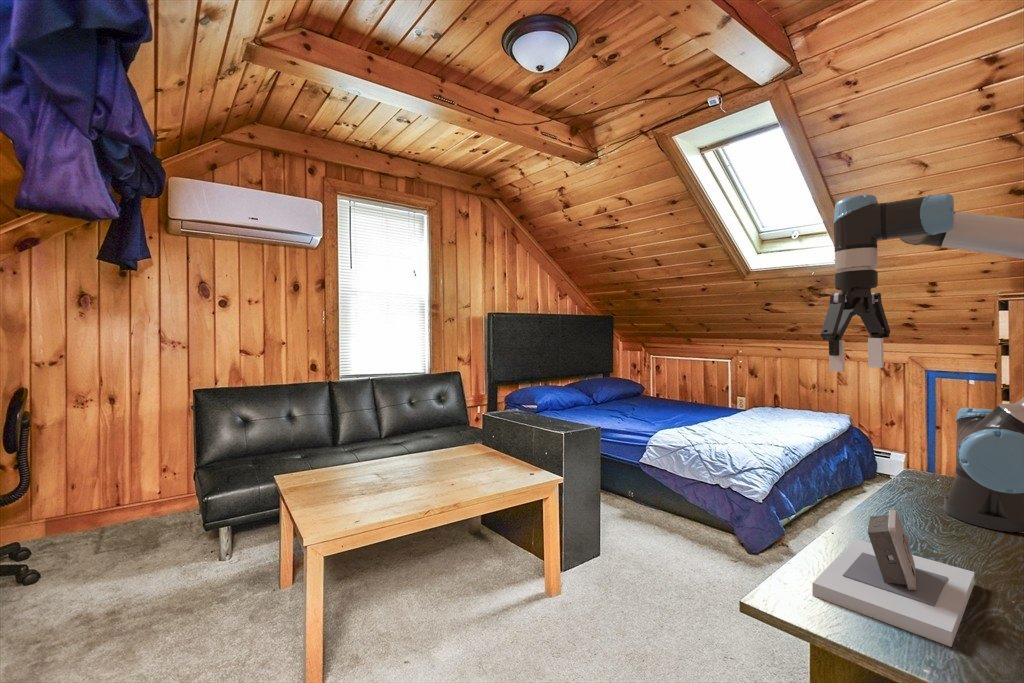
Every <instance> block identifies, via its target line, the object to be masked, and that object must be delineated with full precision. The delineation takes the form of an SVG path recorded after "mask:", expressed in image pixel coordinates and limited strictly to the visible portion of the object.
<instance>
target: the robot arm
mask: <svg viewBox="0 0 1024 683" xmlns="http://www.w3.org/2000/svg"><path fill="white" fill-rule="evenodd" d="M877 198H878V197H877V196H876V195H874V194H863V195H853V196H852V195H851V196H849V197H844V198H842V199H840V200H839V201H837V202H836V203H835V204H834V216H833V217H834V218H833V236H834V237H833V238H834V240H833V241H834V242H833V243H834V245H833V246H834V270H835V271H838V272H836V273H835V274H834V289H835V290H837V291H840V292H835V293H834V292H833V293H831V294H830V296H829V306H828V309H827V312H826V316H825V318H824V321H823V324H822V329H821V332H820V338H822V340H824V341H828V357H829V358H828V360H829V361H828V362H829V364H828V365H829V366H828V367H829V368H828V369H829V370H828V371H829V372H836V373H837V372H839V373H845V371H846V369H845V368H846V364H845V362H846V361H845V357H846V355H845V354H846V353H845V351H846V350H845V340H842V338H843V336H844V334H845V332H846V330H847V328H848V326H849V324H850V323H851V320H852V319H853V317H854V316H856V315H857V316H858V317H860V319H861V321H862V323H863V325H864V327H865V328H866V330H867V332H868V334H869V336H870V337H868V338H867V366H868V368H876V369H877V368H879V369H880V368H881V369H884V367H885V366H884V365H885V364H884V363H885V362H884V339H886V338H887V339H888V338H889V337H890V334H891V329H890V326H889V322H888V319H887V316H886V312H885V309H884V307H883V303H882V294H881V292H873V293H872V289H876V288H877V287H878V286H879V283H878V281H879V278H878V277H879V276H878V275H879V274H878V270H877V269H876V268H878V266H879V265H878V262H879V261H878V241H881V240H884V241H885V240H893V239H899V240H900V241H901V242H903V243H905V244H908V245H913V246H921V245H923V246H929V247H930V246H932V247H936V248H937V247H939V248H947V249H951V250H952V249H954V250H960V251H966V252H967V251H968V252H974V253H981V254H988V255H993V256H994V255H995V256H1001V257H1007V258H1015V259H1021V260H1024V218H1018V217H1008V216H1001V215H991V214H980V213H972V212H971V213H970V212H962V211H955V199H954V195H952V194H950V193H942V194H929V195H926V196H920V197H914V198H913V197H912V198H908V199H903V200H902V199H901V200H896V201H888V202H879V201H878V199H877ZM955 423H956V441H955V442H956V446H955V447H956V449H955V475H954V476H955V477H954V478H953V481H952V483H951V486H950V488H949V491H948V495H946V496H945V497H944V500H943V504H944V505H943V510H944V512H945V513H946V514H948V515H949V516H951V517H952V518H954V519H956V520H960V521H962V522H963V523H966V524H967V523H968V524H970V525H975V526H977V527H981V528H986V529H990V530H995V531H1000V532H1005V531H1006V532H1007V533H1013V532H1024V396H1023V397H1022V398H1021V399H1019V400H1018V401H1017V402H1013V403H999V404H998V405H997V406H996V407H994V409H990V408H977V407H961V408H959V409H958V410H957V416H956V418H955Z"/></svg>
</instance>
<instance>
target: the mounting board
mask: <svg viewBox="0 0 1024 683" xmlns="http://www.w3.org/2000/svg"><path fill="white" fill-rule="evenodd" d="M912 557H913V560H914V564H915V573H916V590H909V589H908V586H907V585H905V584H895V583H884V580H883V577H882V574H881V571H880V568H879V565H878V562H877V559H876V556H875V553H874V550H873V547H872V544H871V542H868V541H864V540H860V539H857V538H854V539H853V540H852V541H851V542H850V543H849V544H848V545H847V547H845V548H844V549H843V550H842V551H841V552H840V553H839V555H837V557H836V558H834V559H833V561H832V562H831V563H830V564H829V565H828V566H827V567H826V568H825V569H824V570H823V571H822V572H821V573H820V574H819V575H818V577H816V579H815V580H814V581H812V588H811V590H812V593H811V594H812V596H813V595H814V596H813V597H815V596H816V598H818V597H819V598H818V599H820V600H823V601H826V602H829V603H832V604H835V605H837V606H840V607H843V608H845V609H848V610H850V611H854V612H856V613H859V614H861V615H864V616H867V617H870V618H872V617H873V618H872V619H875V620H877V621H881V622H883V623H884V624H885V623H886V624H889V625H891V626H894V627H896V628H899V629H902V630H904V631H907V632H910V633H913V634H915V635H917V636H921V637H924V638H925V639H929V640H930V641H933V642H937V643H939V644H942V645H944V646H947V647H949V648H952V646H953V645H954V644H953V643H954V641H955V638H956V636H957V633H958V630H959V627H960V624H961V622H962V619H963V617H964V613H965V611H966V608H967V605H968V603H969V600H970V597H971V594H972V592H973V589H974V586H975V571H972V570H969V569H965V568H961V567H957V566H953V565H951V564H946V563H942V562H939V561H937V560H933V559H928V558H924V557H921V556H918V555H914V554H912Z"/></svg>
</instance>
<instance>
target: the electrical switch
mask: <svg viewBox="0 0 1024 683" xmlns="http://www.w3.org/2000/svg"><path fill="white" fill-rule="evenodd" d="M867 534H868V537H869V541H870V543H871V544H872V547H873V550H874V553H875V556H876V559H877V562H878V565H879V568H880V571H881V574H882V577H883V580H884V583H895V584H905V585H907V586H908V589H909V590H916V573H915V564H914V560H913V557H912V555H913V554H912V550H911V548H910V542H909V541H910V540H909V536H907V535H906V533H905V530H904V528H903V525H902V521H901V519H900V517H899V515H898V512H897V511H896V509H889V511H888V514H887V515H886V514H884V515H883V514H882V515H869V521H868V527H867Z"/></svg>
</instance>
